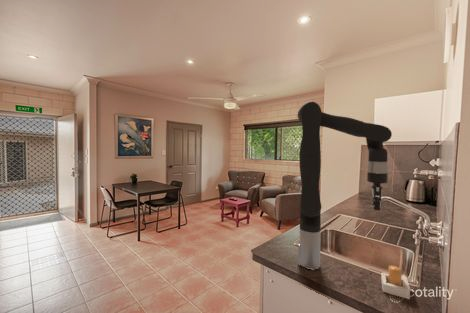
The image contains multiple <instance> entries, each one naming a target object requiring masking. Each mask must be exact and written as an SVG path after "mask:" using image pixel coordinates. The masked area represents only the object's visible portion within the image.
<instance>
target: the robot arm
mask: <svg viewBox="0 0 470 313" xmlns="http://www.w3.org/2000/svg"><path fill="white" fill-rule="evenodd" d="M297 118H298V121H299V122H300V123H301V127H302V130H301V131H302V137H301V142H300V146H299V147H300V148H299V153H298V156H299V157H298V158H299V162H298V163H299V175H300V182H301V194H300V195H301V196H300V201H299V243H298V244H297V264H298V263H299V264H301V265H302V266H304V267H307V268H313V269H316V268H319V267H320V268H321V238H322V237H321V235H322V234H321V233H322V232H321V231H322V229H321V226H322V224H321V222H322V221H321V218H322V217H321V215H322V214H321V210H322V203H321V196H320V180H321V169H322V168H321V166H322V158H321V157H322V156H321V155H322V154H321V153H322V152H321V151H322V150H321V132H320V131H321V127H322V128H326V129H331V130H335V131H337V132H341V133H344V134H347V135H350V136H353V137H357V138H364V139H365V141H366V146H367V150H368V155H367V156H368V158H367V160H368V161H367V162H368V163H367V174H366V175H367V176H366V177H367V178H366V180H367V182H368V183H372V185H371V195H372V197H373V200H372V205H373V210H374V211H380V210H381V201H382V197H383V190H384V189H383V186H381V185H382V184H387V183H388V177H389V176H388V174H389V173H388V172H389V166H388V155H389V154H388V150H387V149H386V148H385V147H384V144H383V143H386V142H388V141H389V140H390V139H391V138H392V135H393V134H392V131H391V129H390V128H389V127H387V126H385V125H382V124H381V125H380V124H377V123H372V122H371V123H370V122H365V121H362V120H359V119H355V118H352V117H348V116H342V115H333V114H329V113H326V112H324V111H322V109H321V105H319V104H318V103H317V102H315V101H307V102H305V103H304V104H303V105H302V106H301V107H300V109H299V110H298V111H297ZM320 268H319V269H320Z"/></svg>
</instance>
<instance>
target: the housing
mask: <svg viewBox="0 0 470 313" xmlns="http://www.w3.org/2000/svg"><path fill="white" fill-rule="evenodd" d="M380 274H381V276H380V278H381V288H382V292H383V293H387V294H390V295H394V296H397V297H401V298H404V299H407V300H410V299H411V287H410V284H409V281H408V278H407V275H404V274H402V275H401V286H397V285H394V284H390V283H388V275H389V273H387V272H381V273H380ZM386 282H387V283H386Z"/></svg>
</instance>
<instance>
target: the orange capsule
mask: <svg viewBox="0 0 470 313" xmlns="http://www.w3.org/2000/svg"><path fill="white" fill-rule="evenodd" d="M402 270H403V269H402V268H400V267H399V266H395V265H388V274H389V275H388V283H390V284H394V285H397V286H401V277H402V275H403V274H402Z"/></svg>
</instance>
